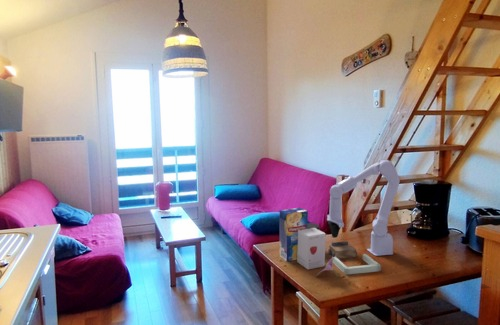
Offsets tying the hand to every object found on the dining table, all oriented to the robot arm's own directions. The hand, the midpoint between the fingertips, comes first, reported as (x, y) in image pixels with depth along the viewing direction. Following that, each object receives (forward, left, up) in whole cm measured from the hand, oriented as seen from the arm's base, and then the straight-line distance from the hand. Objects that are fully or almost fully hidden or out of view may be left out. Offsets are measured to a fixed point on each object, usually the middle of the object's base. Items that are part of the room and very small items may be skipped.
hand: (334, 237), depth 178 cm
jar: (+12, -1, -6) cm, 13 cm away
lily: (+15, +27, -6) cm, 32 cm away
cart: (0, +9, -6) cm, 10 cm away
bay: (0, +21, -6) cm, 22 cm away
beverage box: (+23, +6, -6) cm, 24 cm away
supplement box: (+18, +15, -6) cm, 24 cm away
